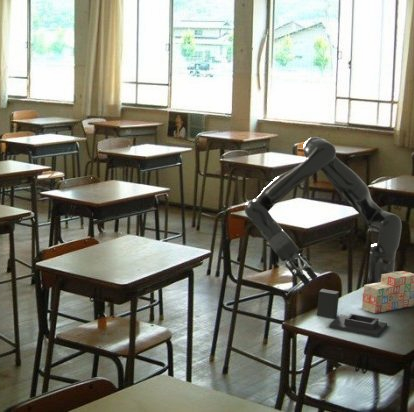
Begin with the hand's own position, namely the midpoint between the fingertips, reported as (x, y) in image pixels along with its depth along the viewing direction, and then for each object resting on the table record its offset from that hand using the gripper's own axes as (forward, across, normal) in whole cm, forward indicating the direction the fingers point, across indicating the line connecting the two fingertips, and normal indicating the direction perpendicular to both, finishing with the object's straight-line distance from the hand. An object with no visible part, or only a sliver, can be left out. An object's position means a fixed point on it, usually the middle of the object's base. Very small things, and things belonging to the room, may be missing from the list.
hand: (311, 281), depth 312 cm
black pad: (+13, 0, +4) cm, 13 cm away
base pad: (+22, -6, -5) cm, 23 cm away
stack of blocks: (+24, +24, -7) cm, 34 cm away
